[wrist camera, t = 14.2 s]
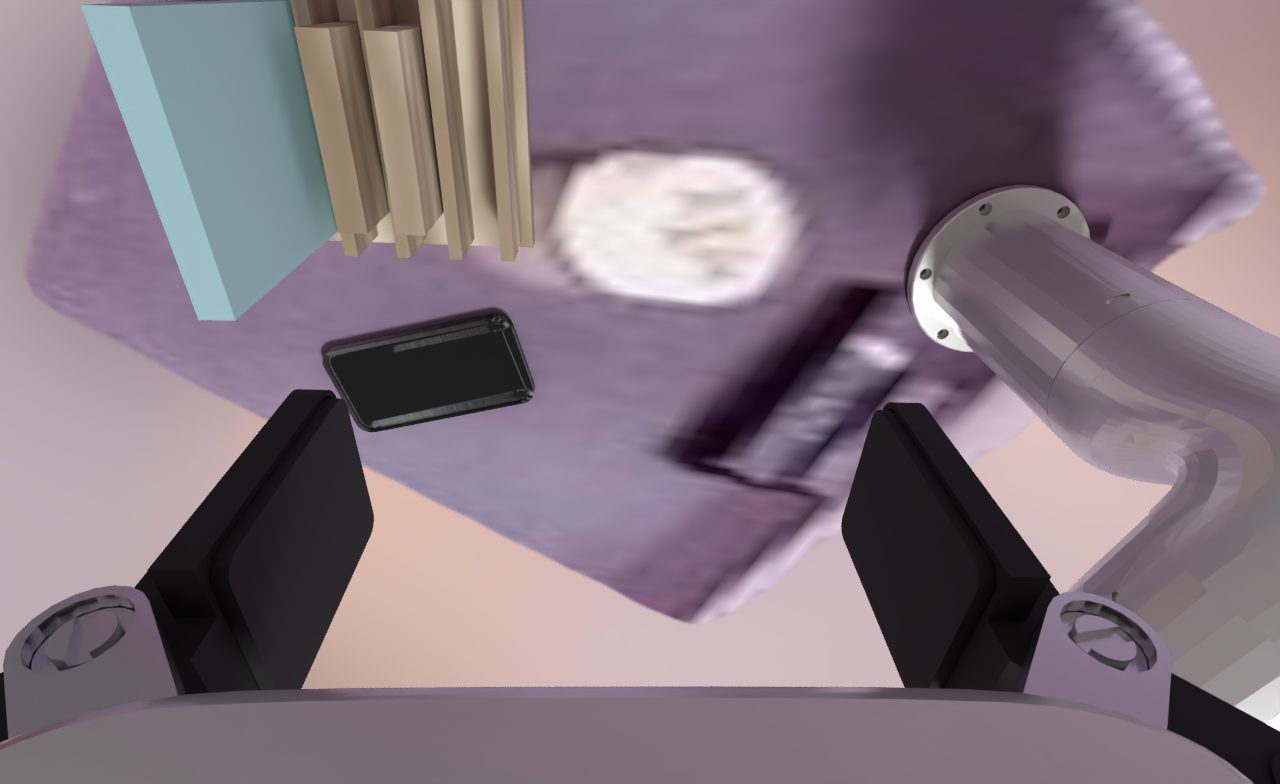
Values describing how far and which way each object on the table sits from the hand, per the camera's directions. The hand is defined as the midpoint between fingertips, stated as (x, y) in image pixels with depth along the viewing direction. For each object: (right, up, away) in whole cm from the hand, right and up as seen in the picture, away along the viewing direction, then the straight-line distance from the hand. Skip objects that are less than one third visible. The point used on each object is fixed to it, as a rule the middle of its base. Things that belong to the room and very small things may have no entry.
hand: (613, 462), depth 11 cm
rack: (-14, +19, +28) cm, 37 cm away
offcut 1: (-16, +18, +27) cm, 36 cm away
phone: (-16, +3, +39) cm, 42 cm away
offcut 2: (-12, +18, +27) cm, 35 cm away
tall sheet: (-19, +18, +27) cm, 38 cm away
